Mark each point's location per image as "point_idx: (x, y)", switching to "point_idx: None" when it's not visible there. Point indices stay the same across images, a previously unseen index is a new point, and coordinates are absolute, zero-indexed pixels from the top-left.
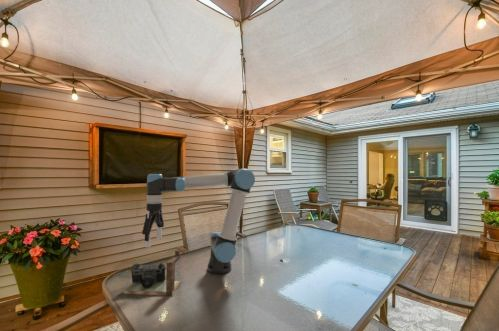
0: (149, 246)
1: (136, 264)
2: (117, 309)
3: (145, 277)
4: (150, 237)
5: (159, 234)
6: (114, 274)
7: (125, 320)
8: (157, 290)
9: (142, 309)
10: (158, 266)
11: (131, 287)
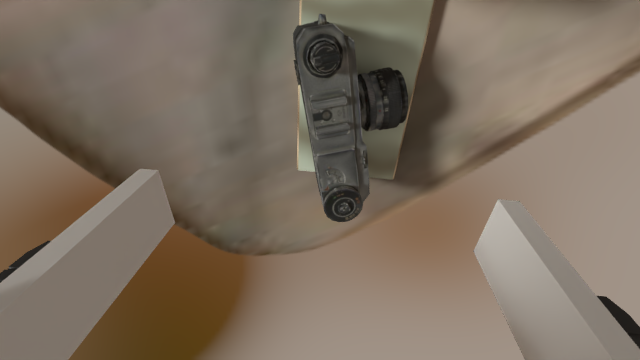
0: (524, 211)
1: (339, 208)
2: (512, 144)
3: (393, 117)
4: (597, 325)
5: (119, 239)
6: (247, 253)
7: (617, 79)
8: (418, 23)
9: (551, 40)
10: (331, 72)
11: (373, 160)
